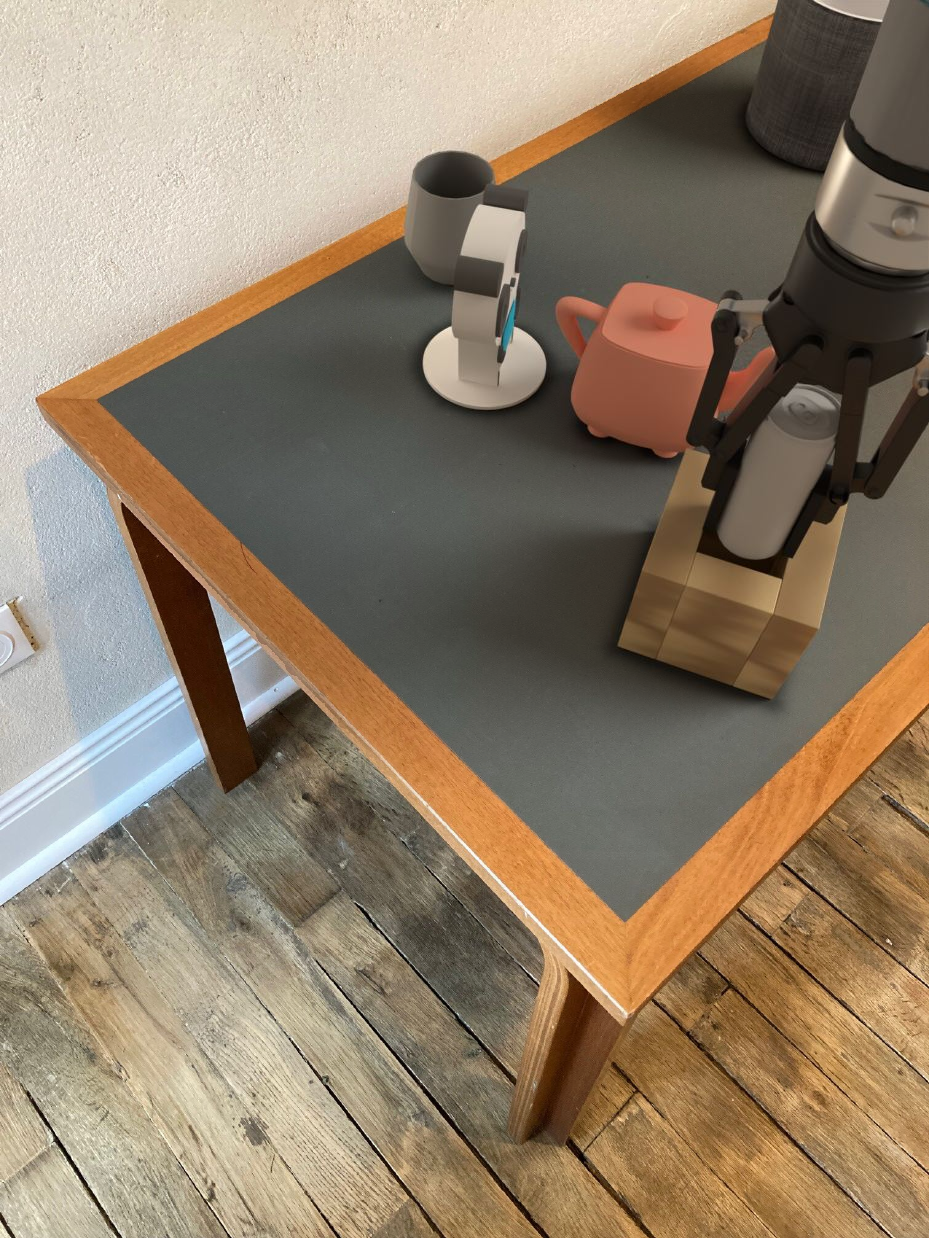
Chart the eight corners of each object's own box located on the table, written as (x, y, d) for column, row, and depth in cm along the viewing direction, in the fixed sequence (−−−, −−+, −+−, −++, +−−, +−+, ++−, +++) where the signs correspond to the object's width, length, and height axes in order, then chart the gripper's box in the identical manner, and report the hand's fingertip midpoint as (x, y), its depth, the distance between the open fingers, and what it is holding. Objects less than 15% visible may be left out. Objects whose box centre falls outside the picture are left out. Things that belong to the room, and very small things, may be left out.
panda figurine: (530, 425, 83) (547, 284, 70) (406, 401, 84) (401, 257, 71) (556, 335, 89) (576, 190, 76) (440, 313, 90) (441, 167, 78)
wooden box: (802, 576, 75) (849, 496, 66) (772, 700, 69) (819, 629, 60) (658, 530, 77) (686, 447, 69) (617, 646, 71) (641, 570, 63)
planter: (845, 76, 115) (899, -72, 102) (931, 157, 106) (1002, 7, 93) (717, 101, 111) (755, -49, 98) (795, 187, 103) (849, 35, 89)
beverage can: (744, 575, 63) (803, 454, 53) (698, 526, 65) (747, 401, 55) (797, 545, 65) (865, 422, 54) (751, 498, 67) (807, 371, 56)
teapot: (522, 428, 83) (534, 319, 72) (566, 343, 89) (583, 231, 78) (744, 499, 79) (790, 395, 69) (775, 406, 85) (821, 297, 75)
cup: (466, 227, 97) (469, 133, 89) (517, 277, 93) (525, 184, 85) (387, 257, 95) (382, 164, 86) (437, 311, 90) (437, 218, 82)
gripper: (686, 229, 44) (610, 529, 64) (1082, 331, 41) (873, 614, 61) (723, 144, 48) (640, 453, 68) (1089, 231, 45) (890, 529, 65)
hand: (751, 529), depth 64 cm, fingers closed on beverage can, 5 cm apart
